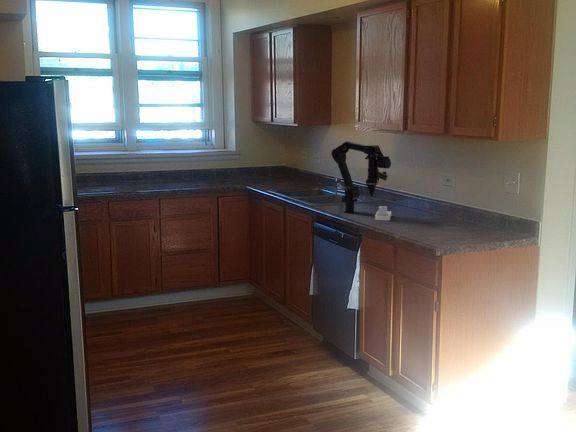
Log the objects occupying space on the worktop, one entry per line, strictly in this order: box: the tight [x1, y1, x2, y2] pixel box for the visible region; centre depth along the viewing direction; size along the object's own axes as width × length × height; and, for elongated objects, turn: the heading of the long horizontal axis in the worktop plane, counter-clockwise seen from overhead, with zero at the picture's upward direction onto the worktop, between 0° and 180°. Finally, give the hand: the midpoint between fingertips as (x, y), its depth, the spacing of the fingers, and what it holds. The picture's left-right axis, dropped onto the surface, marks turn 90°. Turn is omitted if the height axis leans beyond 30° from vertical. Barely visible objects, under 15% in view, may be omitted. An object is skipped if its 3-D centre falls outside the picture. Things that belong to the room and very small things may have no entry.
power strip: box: [374, 210, 392, 221], centre depth 365 cm, size 16×8×3 cm, turn 168°
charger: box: [378, 205, 388, 216], centre depth 361 cm, size 4×4×7 cm
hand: (372, 194), depth 373 cm, fingers open, 9 cm apart
